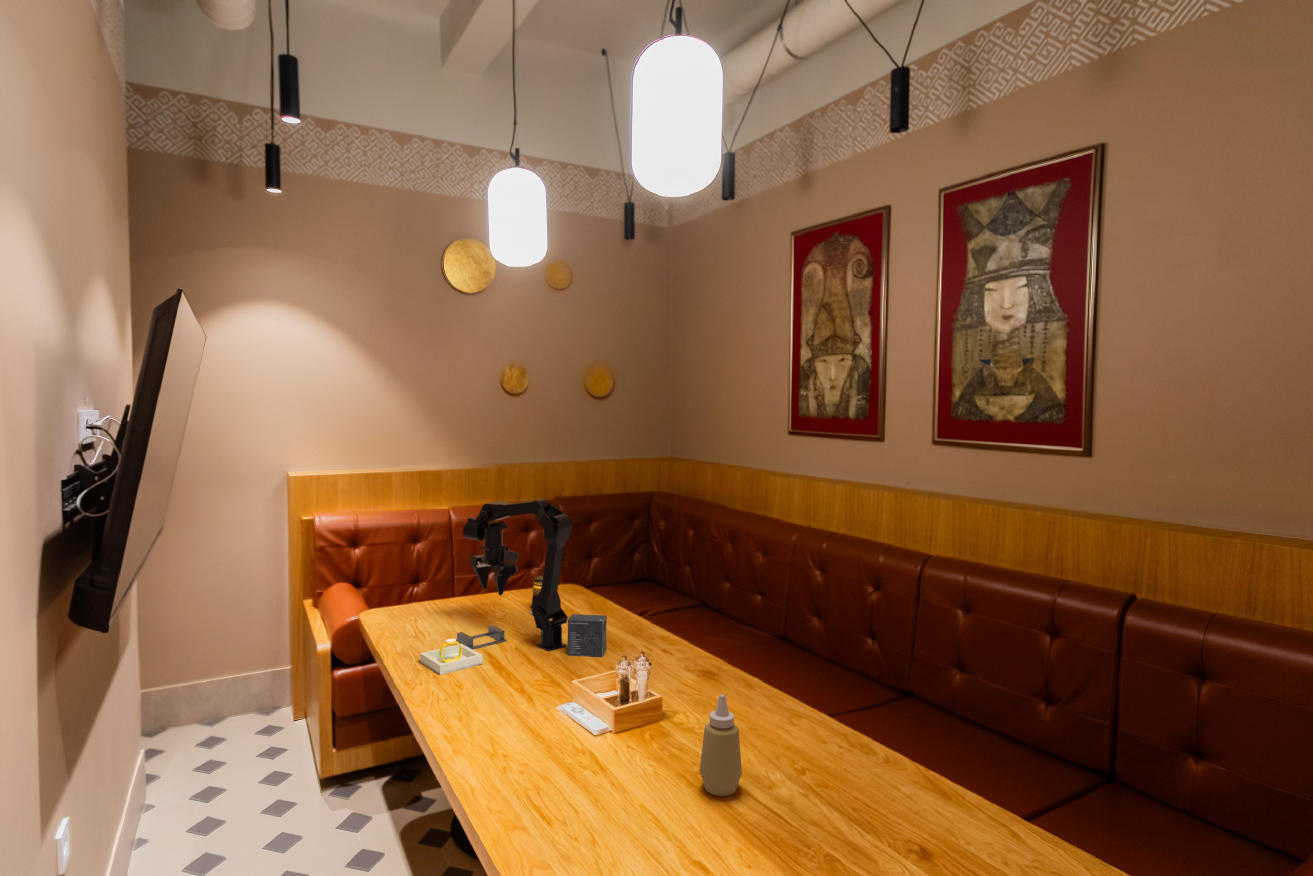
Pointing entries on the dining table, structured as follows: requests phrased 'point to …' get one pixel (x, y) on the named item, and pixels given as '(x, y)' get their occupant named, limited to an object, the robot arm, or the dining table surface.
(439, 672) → the parts tray
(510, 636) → the dining table surface
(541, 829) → the dining table surface
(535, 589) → the condiment
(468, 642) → the grey rectangular open frame
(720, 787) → the squeeze bottle
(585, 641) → the box
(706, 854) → the dining table surface
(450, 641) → the watch
